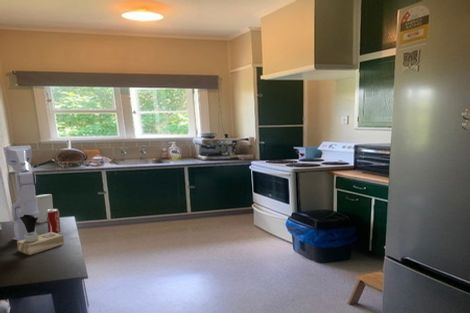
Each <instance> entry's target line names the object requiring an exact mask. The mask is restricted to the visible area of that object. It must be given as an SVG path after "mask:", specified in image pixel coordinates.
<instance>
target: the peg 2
mask: <svg viewBox="0 0 470 313" xmlns="http://www.w3.org/2000/svg"><path fill="white" fill-rule="evenodd" d="M52 236H55V234H47V235H44V236H43V237H45V238H48V237H52Z"/></svg>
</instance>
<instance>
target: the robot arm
mask: <svg viewBox="0 0 470 313" xmlns="http://www.w3.org/2000/svg"><path fill="white" fill-rule="evenodd" d="M4 149H5V157H6V163H7V165H8V166H11V167H12V168H13V171H14V175H15V176H14V177H15V185H16V193H17V200H16V201H14V202H13V203H12V205H11V215H12V221H13V222H14V224H13V230H14V237H13V238H12V240H15V241H17V242H18V241H21V240H25V236H24V234H28V233H31V232H36V233H37V228H36V227H37V226H36V224H37V219H38V217H41V215H40V212H39V211H38V209H37V204H36V196H37V195H36V184H37V180H36V179H37V177H36V173H35V171H34V170H33V169H32V165H31V161H32V157H33V155H32V154H33V151H32V147H31V146H30V144H27V145H13V146H11V145H10V146H8V145H7V146H6V147H5V148H4ZM39 235H40V234H38V236H39Z"/></svg>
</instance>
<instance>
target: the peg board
mask: <svg viewBox="0 0 470 313" xmlns="http://www.w3.org/2000/svg"><path fill="white" fill-rule="evenodd" d="M47 234H55V236H52V237H48V238H45V237H43V236H44V235H47ZM38 235H39V236H38V241H35V242H32V243H26V242H25V240H21V241H18V240H17V241H16V244H17V246H16V247H17V251H18V252H20V253H23V254H26V255H28V256H32V255H34V254H37V253H40V252H43V251H47V250H49V249H53V248H55V247H59V246H61V245H64V244H65V242H64V234H61V233H59V234H57V233H53V232H49V233H48V232H46V233H43V234H38Z"/></svg>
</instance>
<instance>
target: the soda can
mask: <svg viewBox="0 0 470 313" xmlns="http://www.w3.org/2000/svg"><path fill="white" fill-rule="evenodd" d="M60 221H61V220H60V211H59V209H58V208H53V209H50V210H47V221H46V222H47V233H49V232H53V233H57V234H61V222H60Z"/></svg>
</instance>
